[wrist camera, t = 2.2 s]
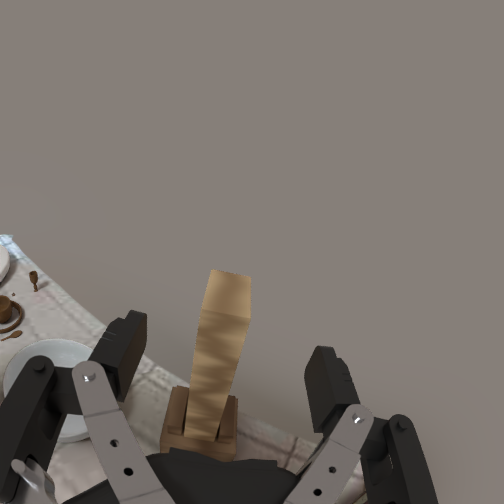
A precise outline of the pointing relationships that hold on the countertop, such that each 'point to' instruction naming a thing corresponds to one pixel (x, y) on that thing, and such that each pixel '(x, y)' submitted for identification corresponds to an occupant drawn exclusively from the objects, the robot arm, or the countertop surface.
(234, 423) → the walnut rack
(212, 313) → the oak board
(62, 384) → the robot arm
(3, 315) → the place setting
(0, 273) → the plate
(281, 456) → the countertop surface
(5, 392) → the serving bowl
